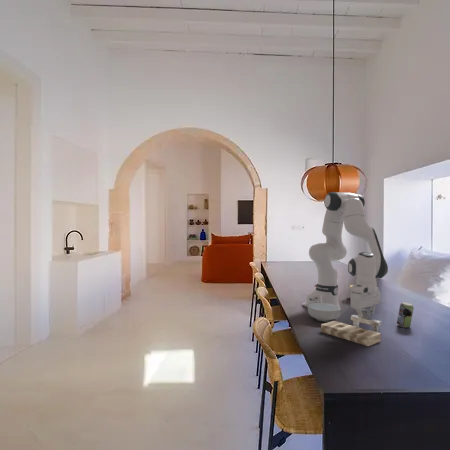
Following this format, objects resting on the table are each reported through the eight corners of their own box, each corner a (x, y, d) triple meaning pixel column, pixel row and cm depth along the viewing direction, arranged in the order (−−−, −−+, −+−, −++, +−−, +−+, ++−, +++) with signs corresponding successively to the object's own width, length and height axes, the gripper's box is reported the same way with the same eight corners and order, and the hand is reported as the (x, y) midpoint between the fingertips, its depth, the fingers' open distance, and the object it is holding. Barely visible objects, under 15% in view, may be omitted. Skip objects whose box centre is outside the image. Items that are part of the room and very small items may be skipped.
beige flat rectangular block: (321, 331, 167) (321, 324, 167) (333, 327, 173) (334, 320, 173) (368, 346, 148) (368, 338, 148) (380, 341, 154) (380, 333, 154)
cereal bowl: (318, 325, 177) (318, 311, 177) (301, 316, 193) (301, 303, 193) (347, 322, 182) (347, 309, 182) (329, 314, 198) (329, 301, 198)
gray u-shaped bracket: (350, 327, 173) (350, 307, 173) (354, 326, 175) (354, 306, 175) (377, 335, 162) (378, 313, 162) (381, 334, 164) (381, 312, 163)
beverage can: (398, 323, 180) (398, 300, 180) (414, 326, 175) (415, 302, 175) (395, 326, 175) (395, 302, 175) (411, 329, 170) (412, 304, 170)
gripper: (371, 283, 177) (371, 311, 177) (348, 288, 164) (347, 317, 164) (384, 285, 172) (383, 313, 172) (360, 290, 159) (360, 320, 159)
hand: (365, 315), depth 168 cm, fingers open, 8 cm apart
